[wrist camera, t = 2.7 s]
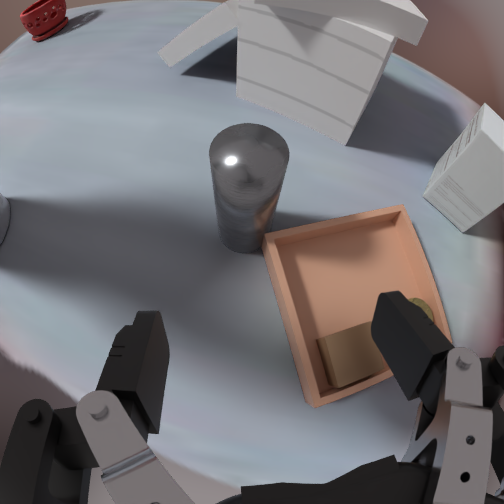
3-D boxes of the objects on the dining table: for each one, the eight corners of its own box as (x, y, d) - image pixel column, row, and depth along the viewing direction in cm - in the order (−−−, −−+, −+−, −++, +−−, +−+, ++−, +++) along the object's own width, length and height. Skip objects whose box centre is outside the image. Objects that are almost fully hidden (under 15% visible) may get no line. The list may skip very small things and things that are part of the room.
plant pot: (25, 46, 43) (13, 17, 32) (59, 21, 47) (50, -7, 36) (42, 45, 42) (28, 12, 30) (80, 19, 46) (70, -13, 34)
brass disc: (392, 351, 22) (404, 350, 20) (381, 309, 23) (391, 305, 21) (425, 336, 22) (437, 334, 20) (414, 297, 24) (425, 292, 22)
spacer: (225, 258, 25) (218, 191, 15) (214, 212, 27) (203, 130, 16) (275, 246, 26) (300, 175, 15) (261, 202, 27) (275, 119, 17)
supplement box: (472, 198, 30) (529, 146, 18) (462, 235, 28) (532, 183, 16) (434, 162, 31) (484, 100, 19) (419, 195, 29) (481, 128, 17)
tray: (305, 401, 21) (315, 408, 18) (261, 247, 26) (264, 233, 23) (433, 345, 23) (452, 342, 20) (389, 217, 28) (403, 204, 25)
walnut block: (328, 384, 21) (338, 387, 19) (315, 339, 22) (324, 337, 20) (370, 368, 21) (384, 368, 19) (358, 324, 23) (371, 321, 20)
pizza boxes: (225, 30, 40) (226, -54, 23) (389, 92, 36) (431, 2, 19) (149, 81, 34) (127, -28, 17) (355, 168, 29) (426, 33, 13)
